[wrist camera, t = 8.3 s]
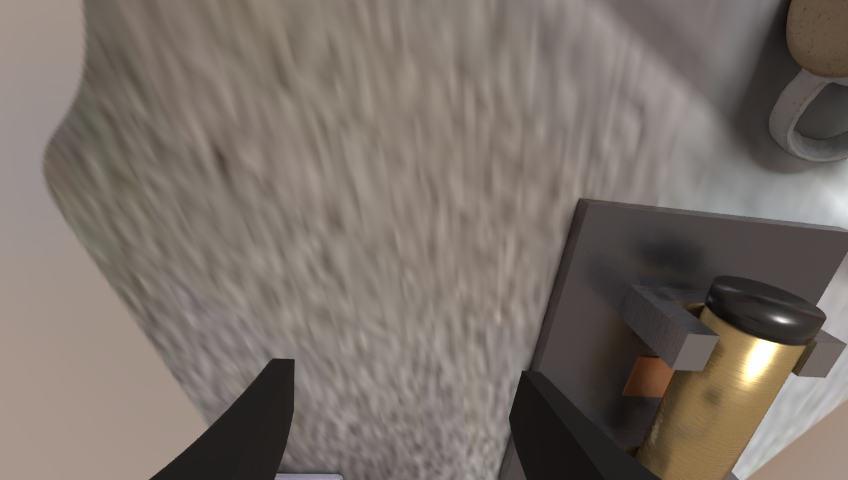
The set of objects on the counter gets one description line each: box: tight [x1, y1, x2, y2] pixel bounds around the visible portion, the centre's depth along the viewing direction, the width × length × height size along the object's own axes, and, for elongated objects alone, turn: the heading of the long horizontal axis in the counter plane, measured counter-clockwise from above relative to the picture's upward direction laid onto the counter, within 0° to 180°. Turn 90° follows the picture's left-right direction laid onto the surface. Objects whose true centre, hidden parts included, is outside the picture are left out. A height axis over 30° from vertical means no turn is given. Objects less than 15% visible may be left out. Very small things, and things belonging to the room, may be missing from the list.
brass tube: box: [634, 275, 826, 480], centre depth 21 cm, size 16×4×4 cm, turn 172°
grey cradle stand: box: [499, 198, 848, 480], centre depth 23 cm, size 21×16×6 cm
